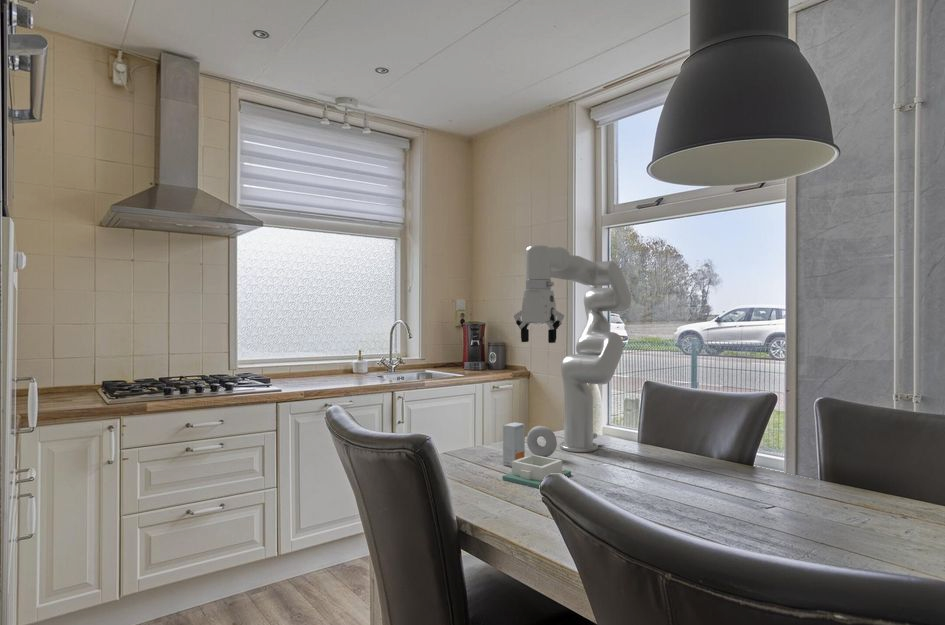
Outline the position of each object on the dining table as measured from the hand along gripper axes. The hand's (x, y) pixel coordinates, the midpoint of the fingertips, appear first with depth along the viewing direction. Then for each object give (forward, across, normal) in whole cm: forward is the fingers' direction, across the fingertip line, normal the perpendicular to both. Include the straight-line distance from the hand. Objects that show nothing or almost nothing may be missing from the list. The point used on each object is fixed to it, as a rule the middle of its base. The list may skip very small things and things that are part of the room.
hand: (538, 342), depth 167 cm
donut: (+37, +3, -6) cm, 37 cm away
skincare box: (+37, +5, +6) cm, 38 cm away
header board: (+37, -8, +13) cm, 40 cm away
